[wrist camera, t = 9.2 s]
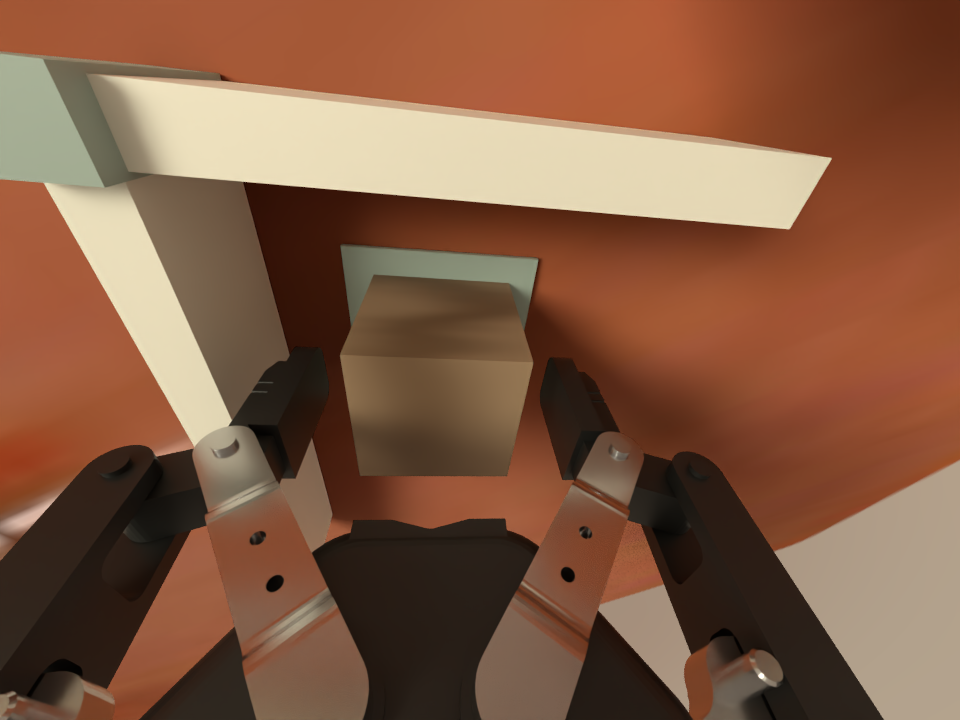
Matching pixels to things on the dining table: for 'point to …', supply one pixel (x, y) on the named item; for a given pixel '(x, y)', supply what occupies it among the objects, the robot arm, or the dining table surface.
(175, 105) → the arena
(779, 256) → the dining table surface
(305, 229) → the dining table surface
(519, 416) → the block
